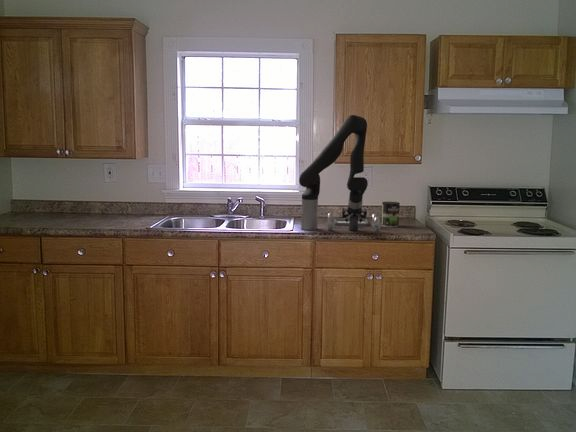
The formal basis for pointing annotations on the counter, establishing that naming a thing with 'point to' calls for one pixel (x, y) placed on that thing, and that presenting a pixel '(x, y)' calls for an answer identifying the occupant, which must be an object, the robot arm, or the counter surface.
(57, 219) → the counter surface
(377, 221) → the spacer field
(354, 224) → the black standoff
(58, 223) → the counter surface
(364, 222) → the tray
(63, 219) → the counter surface
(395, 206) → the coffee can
